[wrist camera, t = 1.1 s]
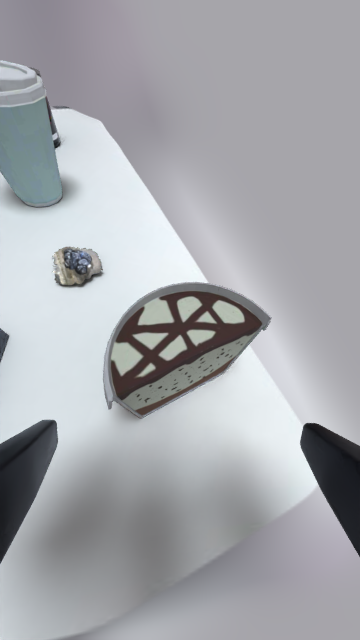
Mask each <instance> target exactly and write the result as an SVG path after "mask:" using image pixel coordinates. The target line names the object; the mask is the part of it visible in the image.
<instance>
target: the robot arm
mask: <svg viewBox="0 0 360 640" xmlns="http://www.w3.org/2000/svg"><path fill="white" fill-rule="evenodd" d="M57 443H58V436H57V423H56V421H55V420H42V421H40V422H38V423H36V424H35V425H33V426H31V427H29V428H28V429H26V430H24V431H22V432H21V433H19V434H17V435H15V436H14V437H12V438H10V439H8V440H7V441H5V442H3V443H1V444H0V563H1V562H2V560H3V558H4V556H5V554H6V552H7V550H8V548H9V546H10V545H11V543H12V541H13V539H14V537H15V535H16V533H17V531H18V530H19V528H20V526H21V524H22V522H23V520H24V518H25V516H26V514H27V513H28V511H29V509H30V507H31V505H32V503H33V501H34V499H35V497H36V495H37V493H38V490H39V488H40V486H41V483H42V481H43V479H44V476H45V474H46V471H47V469H48V467H49V464H50V462H51V459H52V457H53V455H54V452H55V450H56V447H57ZM300 445H301V449H302V451H303V453H304V455H305V457H306V459H307V462H308V464H309V466H310V468H311V470H312V472H313V474H314V476H315V478H316V480H317V482H318V484H319V487H320V488H321V490H322V492H323V494H324V496H325V498H326V499H327V501H328V503H329V505H330V507H331V508H332V510H333V512H334V514H335V515H336V517H337V519H338V520H339V522H340V524H341V525H342V527H343V529H344V531H345V532H346V534H347V536H348V538H349V539H350V541H351V543H352V544H353V546H354V548H355V550H356V551H357V553H358V555H359V556H360V446H359V445H357V444H355V443H353V442H351V441H349V440H347V439H345V438H343V437H342V436H339V435H338V434H336V433H334V432H332V431H330V430H328V429H326V428H325V427H323V426H321V425H319V424H316V423H306V424H305V425H304V426H303V431H302V436H301V441H300Z"/></svg>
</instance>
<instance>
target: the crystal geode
mask: <svg viewBox="0 0 360 640" xmlns="http://www.w3.org/2000/svg"><path fill="white" fill-rule="evenodd" d="M52 257H54V258H53V259H54V263H55V264H57V266H54V267H56V271H52V272H53V273H56V275H55V277H56V278H55V280H56V281H57V282H56V283H59V284H61V285H62V284H64V285H73V284H74V282H76V283H77V284H81V283H82V282H84V280H85V279H86V278H87V279H89V278H91V275H92V274H98V273H100V272H101V270H103V269H101V268H100V267H101V262H100V259H98V256H97V253H96V252H94V251H93V250H92V249H86V248H83V249H80V248H78V247H77V248H75V247H65V248H62V249H59V250H58V252H55V254H54V255H53V256H52Z"/></svg>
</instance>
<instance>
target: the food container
mask: <svg viewBox="0 0 360 640" xmlns="http://www.w3.org/2000/svg"><path fill="white" fill-rule="evenodd" d="M270 320H271V317H270V316H269V315H268V314H267V313H266V312H265V311H264V310H263V309H262V308H261V307H259V306H258V305H257V304H256V303H255V302H253V301H252V300H250V299H248V298H247V297H245V296H244V295H242V294H240V293H238V292H235V291H233V290H231V289H228V288H225V287H222V286H218V285H213V284H209V283H200V282H185V283H178V284H172V285H168V286H165V287H161V288H159V289H157V290H154V291H152V292H150V293H148V294H147V295H145V296H144V297H142V298H140V299H139V300H138V301H137V302H135V303H134V304H133V305H132V306H131V307H130V308H129V309H128V310H127V311H126V312H125V313H124V315H123V316H122V317H121V319H120V320H119V322H118V323H117V325H116V327H115V328H114V330H113V332H112V334H111V337H110V339H109V341H108V344H107V348H106V352H105V356H104V370H103V382H104V391H105V398H106V401H107V405H108V409H111V407H112V401H116V402H117V403H119V404H120V405H121V406H123V407H124V408H126V409H127V410H129V411H130V412H132V413H133V414H134V415H136V416H137V417H139V418H140V419H142V418H143V417H145V416H147V415H149V414H151V413H152V412H154V411H156V410H158V409H160V408H162V407H163V406H165V405H167V404H169V403H171V402H172V401H174V400H176V399H178V398H180V397H182V396H183V395H185V394H187V393H189V392H191V391H193V390H194V389H196V388H198V387H200V386H202V385H203V384H205V383H207V382H209V381H211V380H213V379H214V378H216V377H218V376H220V375H222V374H223V373H225V371H226V370H227V369H228V368H229V367H230V366H231V365H232V363H233V362H234V361H235V360H236V359H237V358H238V357H239V355H240V354H241V353H242V352H243V351H244V350H245V349H246V347H247V346H248V345H249V344H250V343H251V342H252V340H253V339H254V338H255V337H256V336H257V335H258V334H259V332H260V331H261V330H262V329H263V330H266V328H267V327H268V325H269V323H270Z"/></svg>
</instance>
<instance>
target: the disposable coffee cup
mask: <svg viewBox="0 0 360 640" xmlns="http://www.w3.org/2000/svg"><path fill="white" fill-rule="evenodd" d="M45 97H46V88H45V87H44V85H43V81H42V79H41V77H40V76H38V75H36V72H35V71H34V70H32V69H30V68H28V67H25V66H23V65H19V64H15V63H11V62H7V61H1V60H0V172H1V173H2V175H3V176H4V178H5V179H6V180H7V182H8V183H9V185H10V186H11V188H12V189H13V191H14V192H15V193H16V195H17V196H18V197H19V198H20V199H21V200H22V201H23V202H25V203H26V204H27V205H30V206H35V207H44V206H50V205H52V204H55V203H57V202H58V201H59V200H60V199H61V198H62V186H61V181H60V175H59V170H58V164H57V159H56V153H55V148H54V142H53V137H52V132H51V126H50V121H49V115H48V110H47V104H46V99H45Z"/></svg>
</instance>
